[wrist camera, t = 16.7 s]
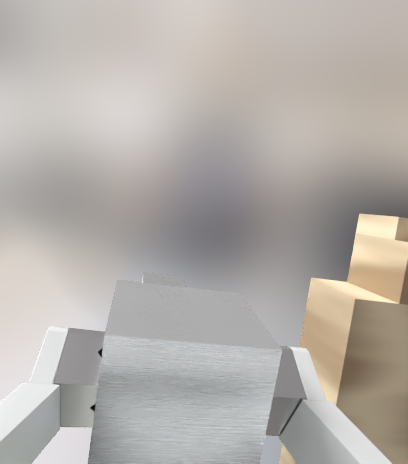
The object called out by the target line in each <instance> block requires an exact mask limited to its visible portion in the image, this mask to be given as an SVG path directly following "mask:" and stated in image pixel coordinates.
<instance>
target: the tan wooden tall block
mask: <svg viewBox="0 0 408 464" xmlns="http://www.w3.org/2000/svg"><path fill="white" fill-rule="evenodd" d="M299 348H306V349H307V350H308V351H309V353H310V356H311V359H312V362H313V365H314V367H315V370H316V373H317V376H318V379H319V381H320V384H321V387H322V390H323V393H324V395H325V398H326V401H332V402H333V403H334V404H335V405H336V406H337V408H338V409H339V410H340V411H341V412H342V413H343V414H344V415H345V416H346V417H347V418H348V419H349V420H350V421H351V422H352V423H353V424H354V425H355V426H356V427H357V428H358V429H359V430H360V431H361V432H362V433H363V434H364V435H365V436H366V437H367V438H368V439H369V440H370V441H371V442H372V443H373V444H374V445H375V446H376V447H377V448H378V449H379V450H380V451H381V452H382V454H383V455H384V456H385V457H386V458H387V459H388V460H389V461H390V462H391V463H392V464H408V219H407V218H401V217H391V216H379V215H367V214H359V220H358V225H357V230H356V236H355V242H354V247H353V253H352V258H351V264H350V269H349V275H348V280H347V282H342V281H334V280H326V279H317V278H311V282H310V288H309V294H308V299H307V306H306V311H305V317H304V323H303V328H302V334H301V341H300V346H299ZM279 464H297V463H296V462H295V461H294V459H293V458H292V456H291V455H290V453H289V452H288V450H287V449H286V447H285V446H284V444H283V445H282V450H281V457H280V462H279Z"/></svg>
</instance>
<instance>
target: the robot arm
mask: <svg viewBox="0 0 408 464" xmlns="http://www.w3.org/2000/svg"><path fill="white" fill-rule="evenodd" d="M104 335H105V332H101V331H92V330H83V329H74V328H63V327H53V326H50V327H49V328H48V330H47V331H46V334H45V337H44V340H43V343H42V346H41V349H40V352H39V355H38V358H37V361H36V363H35V366H34V369H33V372H32V375H31V378H30V381H29V383H26V382H23V383H21V384H20V385H19V386H18V387H17V388H16V389H14V390H13V391H12V392H11V393H10V394H9V395H8V396H7V397H5V398H4V399H3V400H2V401H0V464H31V463H32V462H33V461H34V460H35V459H36V457H37V456H38V455H39V454H40V453H41V451H42V450H43V449H44V448H45V447H46V445H47V444H48V443H49V442H50V441H51V439H52V438H53V437H54V436H55V435H56V433H57V432H58V431H59V429H60V427H93V420H94V412H95V405H96V397H97V389H98V382H99V374H100V366H101V358H102V351H103V343H104ZM280 347H281V349H282V355H281V360H280V365H279V370H278V375H277V380H276V384H275V389H274V394H273V399H272V404H271V409H270V414H269V419H268V424H267V429H266V434H265V435H268V436H280V440H281V442H282V443H283V444H284V446H285V447H286V449H287V450H288V452H289V453H290V455H291V456H292V458H293V459H294V461H295V462H296V463H297V464H392V463H391V462H390V461H389V460H388V459H387V458H386V457H385V456H384V455H383V454H382V452H381V451H380V450H379V449H378V448H377V447H376V446H375V445H374V444H373V443H372V442H371V441H370V440H369V439H368V438H367V437H366V436H365V435H364V434H363V433H362V432H361V431H360V430H359V429H358V428H357V427H356V426H355V425H354V424H353V423H352V422H351V421H350V420H349V419H348V418H347V417H346V416H345V415H344V414H343V413H342V412H341V411H340V410H339V409H338V408H337V406H336V405H335V404H334V403H333V402H332V401H326V398H325V395H324V393H323V390H322V387H321V384H320V381H319V379H318V376H317V373H316V370H315V367H314V365H313V362H312V359H311V356H310V353H309V351H308V350H307V349H306V348H296V347H287V346H280Z"/></svg>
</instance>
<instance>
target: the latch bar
mask: <svg viewBox="0 0 408 464" xmlns="http://www.w3.org/2000/svg"><path fill="white" fill-rule="evenodd" d="M281 355H282V349H281V347H280V346H279V345H278V343H277V342H276V341H275V339H274V338H273V337H272V335H271V334H270V333H269V331H268V330H267V329H266V327H265V326H264V325H263V323H262V322H261V321H260V319H259V318H258V317H257V315H256V314H255V313H254V311H253V310H252V309H251V307H250V306H249V305H248V303H247V302H246V301H245V299H244V298H243V297H242V295H241V294H240V293H232V292H223V291H222V292H221V291H214V290H205V289H195V288H187V287H186V285H185V282H184V280H183V277H180V276H172V275H163V274H154V273H145V272H144V273H143V277H142V283H141V282H132V281H123V280H117V284H116V288H115V293H114V297H113V301H112V305H111V310H110V314H109V318H108V322H107V327H106V331H105V335H104V343H103V351H102V358H101V366H100V374H99V382H98V389H97V397H96V405H95V412H94V420H93V428H92V436H91V443H90V451H89V459H88V464H259V463H260V459H261V453H262V449H263V444H264V439H265V434H266V429H267V424H268V419H269V414H270V409H271V404H272V399H273V394H274V389H275V384H276V380H277V375H278V370H279V365H280V360H281Z"/></svg>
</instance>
